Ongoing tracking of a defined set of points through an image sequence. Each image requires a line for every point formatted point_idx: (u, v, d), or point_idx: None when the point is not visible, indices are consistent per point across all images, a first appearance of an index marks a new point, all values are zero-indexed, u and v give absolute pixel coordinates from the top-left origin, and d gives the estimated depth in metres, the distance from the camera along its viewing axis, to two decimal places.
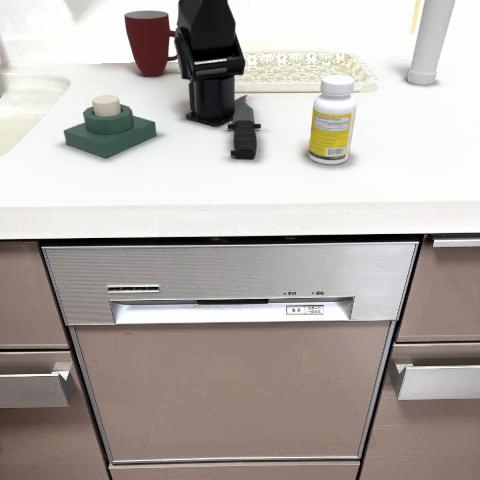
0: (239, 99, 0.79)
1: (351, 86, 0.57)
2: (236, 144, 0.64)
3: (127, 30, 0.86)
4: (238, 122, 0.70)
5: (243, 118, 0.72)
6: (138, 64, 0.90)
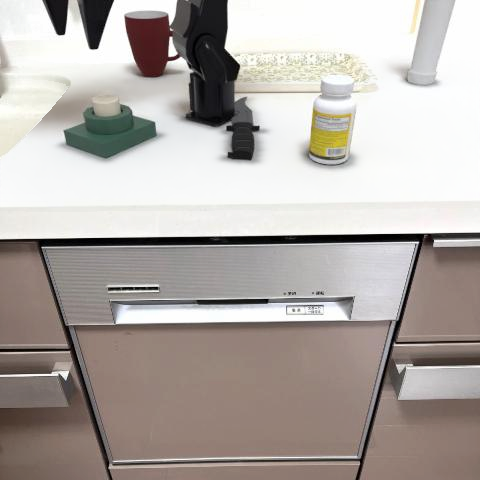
0: (239, 101, 0.79)
1: (351, 86, 0.57)
2: (233, 146, 0.64)
3: (127, 30, 0.86)
4: (236, 124, 0.70)
5: (242, 120, 0.72)
6: (138, 64, 0.90)
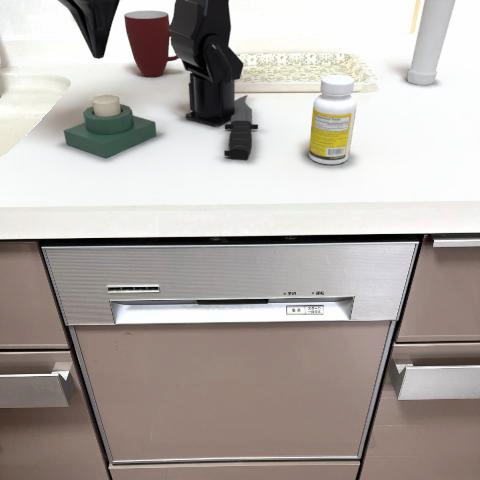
0: (239, 99, 0.79)
1: (351, 86, 0.57)
2: (230, 144, 0.64)
3: (127, 30, 0.86)
4: (235, 122, 0.70)
5: (241, 118, 0.72)
6: (138, 64, 0.90)
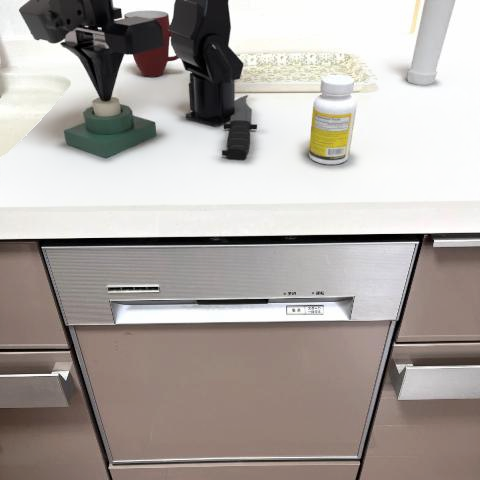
0: (240, 99, 0.79)
1: (351, 86, 0.57)
2: (228, 144, 0.64)
3: None
4: (234, 122, 0.69)
5: (240, 118, 0.72)
6: (138, 64, 0.90)
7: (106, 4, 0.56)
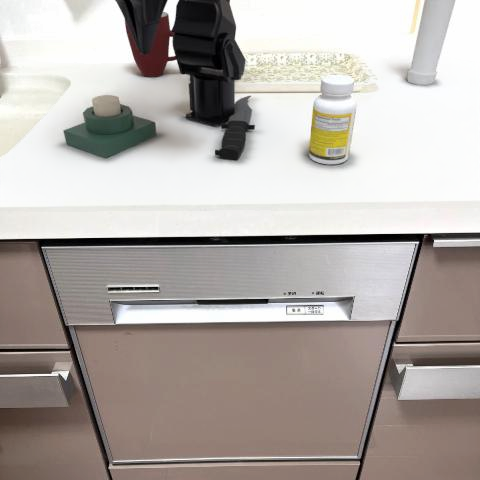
0: (241, 99, 0.79)
1: (351, 86, 0.57)
2: (222, 144, 0.64)
3: (127, 30, 0.86)
4: (231, 122, 0.69)
5: (239, 119, 0.72)
6: (138, 64, 0.90)
7: None
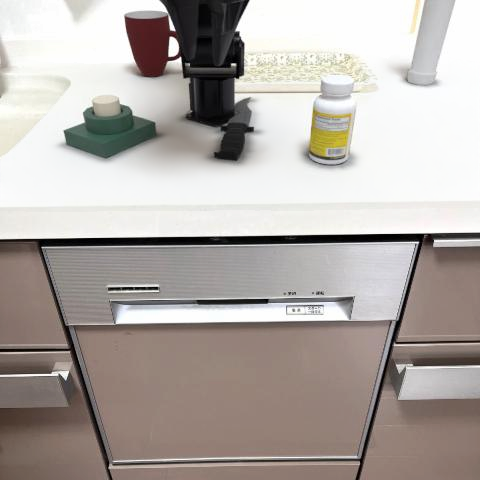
0: (241, 101, 0.79)
1: (351, 86, 0.57)
2: (221, 146, 0.64)
3: (127, 30, 0.86)
4: (230, 124, 0.70)
5: (238, 120, 0.72)
6: (138, 64, 0.90)
7: None
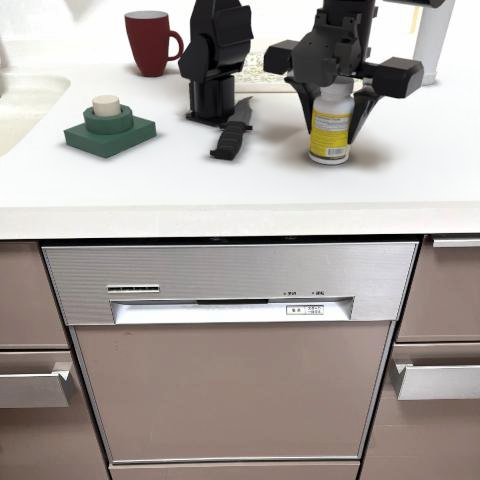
0: (243, 100, 0.79)
1: (351, 86, 0.57)
2: (217, 144, 0.64)
3: (127, 30, 0.86)
4: (229, 122, 0.70)
5: (237, 119, 0.72)
6: (138, 64, 0.90)
7: (366, 45, 0.54)
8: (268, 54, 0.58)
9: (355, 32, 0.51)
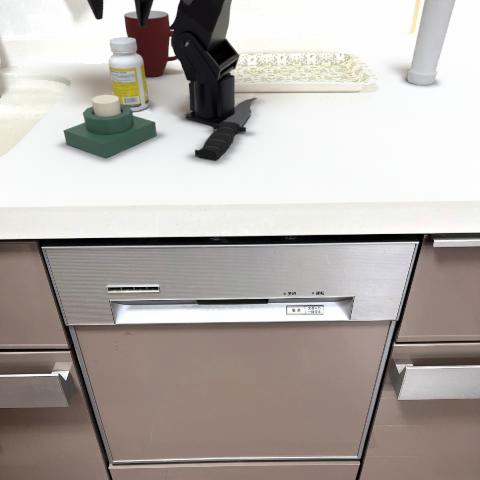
0: (245, 101, 0.79)
1: (131, 45, 0.71)
2: (204, 144, 0.64)
3: (127, 30, 0.86)
4: (222, 123, 0.69)
5: (233, 120, 0.72)
6: None
7: None
8: None
9: None
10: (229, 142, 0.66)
